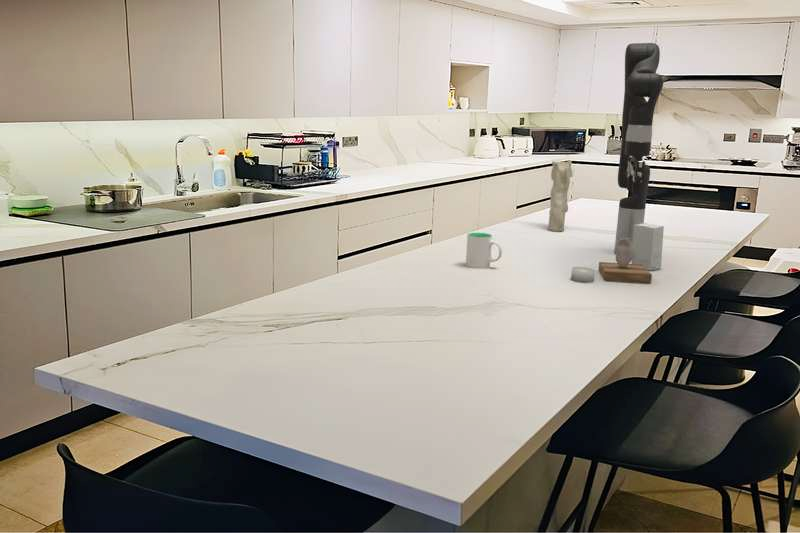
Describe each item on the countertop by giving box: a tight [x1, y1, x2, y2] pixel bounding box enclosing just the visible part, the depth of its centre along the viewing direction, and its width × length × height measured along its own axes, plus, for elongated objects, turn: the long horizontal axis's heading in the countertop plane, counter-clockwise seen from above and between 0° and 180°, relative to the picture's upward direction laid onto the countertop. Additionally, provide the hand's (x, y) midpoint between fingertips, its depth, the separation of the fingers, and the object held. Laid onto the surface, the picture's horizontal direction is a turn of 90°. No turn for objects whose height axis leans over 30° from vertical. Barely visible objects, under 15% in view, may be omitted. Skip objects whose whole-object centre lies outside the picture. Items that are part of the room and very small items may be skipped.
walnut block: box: [597, 261, 653, 285], centre depth 237 cm, size 14×14×3 cm
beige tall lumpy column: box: [547, 159, 573, 233], centre depth 311 cm, size 9×8×30 cm
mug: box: [465, 232, 503, 269], centre depth 244 cm, size 12×8×10 cm, turn 65°
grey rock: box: [615, 237, 635, 268], centre depth 236 cm, size 6×4×10 cm, turn 73°
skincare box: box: [631, 223, 665, 271], centre depth 250 cm, size 8×6×15 cm
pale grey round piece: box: [570, 266, 596, 284], centre depth 231 cm, size 7×7×4 cm
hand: (633, 192), depth 231 cm, fingers open, 8 cm apart
